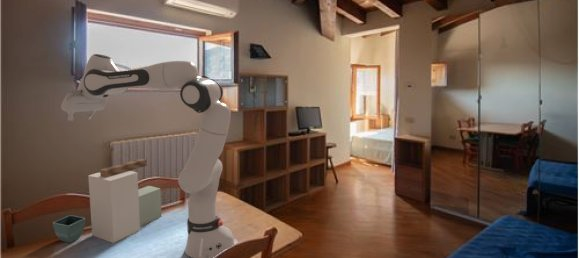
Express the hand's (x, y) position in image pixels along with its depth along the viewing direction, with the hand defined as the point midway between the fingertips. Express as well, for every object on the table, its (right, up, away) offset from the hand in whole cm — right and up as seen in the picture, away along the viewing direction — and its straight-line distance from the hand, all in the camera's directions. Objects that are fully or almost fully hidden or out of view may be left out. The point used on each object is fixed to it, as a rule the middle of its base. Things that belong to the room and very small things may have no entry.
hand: (79, 119), depth 152 cm
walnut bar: (+14, -23, +12) cm, 30 cm away
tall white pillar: (+10, -52, +11) cm, 54 cm away
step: (+17, -49, +25) cm, 58 cm away
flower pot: (-6, -53, +4) cm, 53 cm away
